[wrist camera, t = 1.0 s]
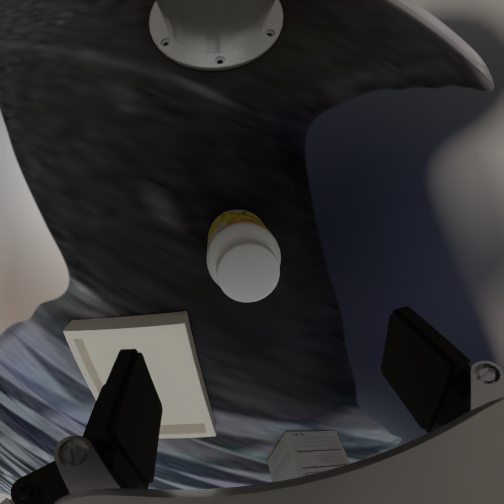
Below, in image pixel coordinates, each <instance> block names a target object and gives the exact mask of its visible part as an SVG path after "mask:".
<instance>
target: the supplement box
mask: <svg viewBox="0 0 504 504" xmlns="http://www.w3.org/2000/svg"><path fill="white" fill-rule="evenodd" d="M348 464H350V463H349V460H348V458H347V456H346V454H345V451H344V449H343V447H342V445H341V442H340V440H339V438H338V436H337V433H336V431H286V432H285V433H284V435H283V437H282V438H281V440H280V441H279V443H278V445H277V446H276V448H275V450H274V451H273V453H272V454H271V456H270V457H269V459H268V465H269V469H270V474H271V479H272V482H277V481H282V480H288V479H293V478H298V477H302V476H307V475H311V474H315V473H319V472H323V471H327V470H331V469H334V468H338V467H341V466H345V465H348Z"/></svg>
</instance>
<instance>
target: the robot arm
mask: <svg viewBox="0 0 504 504" xmlns="http://www.w3.org/2000/svg"><path fill="white" fill-rule="evenodd" d="M282 26H283V10H282V6H281V3H280V1H279V0H156V1H155V3H154V5H153V7H152V10H151V12H150V17H149V29H150V34H151V36H152V38H153V41H154V43H155V44H156V46H157V48H158V49H159V50H160V51H161V52H162V53H163V54H164V55H165V56H166V57H167V58H169V59H170V60H172V61H173V62H175V63H177V64H180V65H182V66H184V67H188V68H192V69H196V70H204V71H221V70H228V69H233V68H238V67H240V66H243V65H246V64H248V63H250V62H252V61H254V60H256V59H258V58H259V57H261V56H262V55H263V54H264V53H266V52H267V51H268V50H269V49H270V48H271V46H272V45H273V44H274V43H275V41H276V40H277V38H278V36H279V34H280V31H281V29H282ZM268 34H269V35H271V36H268ZM165 44H168V45H167V46H164V45H165ZM218 61H222V62H223V63H222V64H217V62H218ZM469 363H470V360H469V359H468V358H467V357H466V356H465V355H464V354H463V353H462V352H460V351H459V350H458V349H457V348H456V347H455V346H454V345H453V344H451V343H450V342H449V341H448V340H447V339H446V338H445V337H443V336H442V335H441V334H440V333H439V332H438V331H437V330H435V329H434V328H433V327H432V326H431V325H430V324H428V323H427V322H426V321H425V320H424V319H423V318H421V317H420V316H419V315H418V314H417V313H415V312H414V311H413V310H412V309H411V308H409V307H402V308H398V309H395V310H394V311H393V313H392V314H391V315H390V318H389V324H388V331H387V337H386V343H385V349H384V354H383V360H382V365H381V371H382V374H383V376H384V377H385V378H386V380H387V381H388V382H389V384H390V385H391V387H392V388H393V389H394V391H395V392H396V394H397V395H398V396H399V397H400V399H401V401H402V402H403V403H404V405H405V406H406V407H407V409H408V410H409V412H410V413H411V415H412V416H413V417H414V419H415V420H416V421H417V423H418V424H419V426H420V427H421V428H422V429H425V430H426V431H427V432H428V433H427V434H425V435H423V436H421V437H419V438H416V439H414V440H412V441H410V442H408V443H405V444H403V445H401V446H398V447H396V448H393V449H391V450H388V451H386V452H383V453H380V454H378V455H375V456H372V457H369V458H366V459H364V460H361V461H358V462H354V463H351V464H348V465H345V466H341V467H338V468H334V469H331V470H327V471H323V472H319V473H315V474H311V475H307V476H302V477H298V478H293V479H288V480H282V481H277V482H271V483H264V484H257V485H250V486H241V487H231V488H218V489H196V490H156V489H148V485H149V483H152V482H153V479H154V471H155V462H156V454H157V447H158V439H159V432H160V425H161V419H162V412H163V409H162V403H161V401H160V398H159V396H158V394H157V391H156V389H155V386H154V384H153V381H152V378H151V376H150V373H149V371H148V368H147V365H146V362H145V360H144V357H143V354H142V353H141V352H139V353H138V351H137V350H136V349H121V350H120V351H119V353H118V356H117V358H116V360H115V363H114V365H113V367H112V370H111V372H110V374H109V377H108V379H107V381H106V384H104V385H103V387H102V388H101V391H100V393H99V396H98V398H97V401H96V403H95V406H94V408H93V411H92V413H91V416H90V418H89V421H88V424H87V426H86V429H85V432H84V435H83V436H78V435H76V436H69V437H66V438H64V439H63V440H61V441H60V442H59V443H58V444H57V446H56V448H55V450H54V459H55V461H53V462H52V463H50V464H48V465H46V466H44V467H42V468H40V469H38V470H36V471H34V472H32V473H30V474H28V475H26V476H24V477H21V478H20V479H18V480H17V481H16V482H15V483H14V484H13V486H12V489H11V497H12V499H10V500H9V499H7V498H6V499H5V500H4V501H3V502H1V503H0V504H504V374H503V371H502V369H501V368H500V367H499V366H498V365H497V364H495V363H493V362H489V361H480V362H477V363H475V364H474V365H473V367H472V368H471V367H470V366H469Z"/></svg>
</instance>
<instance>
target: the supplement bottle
mask: <svg viewBox="0 0 504 504" xmlns="http://www.w3.org/2000/svg"><path fill="white" fill-rule="evenodd" d="M280 262H281V254H280V248H279V246H278V243H277V241H276V239H275V238H274V237H273V235H272V234H271V233H270V231H269V230H268V229H267V228H266V227H265V225H264V224H263V223H262V221H261V220H260V219H259V218H258V217H257V216H256V215H254V214H253V213H251V212H249V211H245V210H230V211H227V212H224V213H223V214H221V215H220V216H218V217H217V218H216V219H215V221H214V222H213V223H212V225H211V227H210V230H209V234H208V246H207V266H208V270H209V273H210V275H211V277H212V278H213V280H214V281H215V282H216V283H217V284H218V285H219V286H220V288H221V289H222V291H223V292H224V293H225V294H226V295H227V296H229V297H230V298H232V299H234V300H236V301H239V302H255V301H258V300H261V299H263V298H264V297H266V296H268V295H269V294H270V293H271V292H272V291H273V290H274V288H275V287H276V285H277V283H278V280H279V275H280V268H279V267H280Z"/></svg>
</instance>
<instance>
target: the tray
mask: <svg viewBox="0 0 504 504" xmlns="http://www.w3.org/2000/svg"><path fill="white" fill-rule="evenodd" d="M63 332H64V335H65V337H66V340H67V342H68V344H69V347H70V349H71V351H72V353H73V356H74V358H75V360H76V362H77V364H78V366H79V368H80V370H81V372H82V375H83V377H84V379H85V380H86V382H87V384H88V386H89V388H90V390H91V392H92V394H93V396H94V397H95V399H96V401H97V398H98V396H99V393H100V391H101V388H102V387H103V385H104V384H106V381H107V379H108V377H109V374H110V372H111V370H112V367H113V365H114V363H115V360H116V358H117V356H118V353H119V351H120V350H121V349H136V350H137V351H138V353H139V352H141V353H142V354H143V357H144V360H145V362H146V365H147V368H148V371H149V373H150V376H151V378H152V381H153V384H154V386H155V389H156V391H157V394H158V396H159V398H160V401H161V403H162V409H163V412H162V419H161V425H160V432H159V438H195V437H211V436H216V422H215V419H214V415H213V412H212V409H211V405H210V402H209V398H208V395H207V391H206V387H205V384H204V380H203V376H202V372H201V368H200V365H199V361H198V357H197V353H196V348H195V344H194V340H193V336H192V332H191V327H190V323H189V318H188V314H187V311H181V312H172V313H162V314H151V315H140V316H127V317H114V318H100V319H84V320H71V322H70V323H69V324H68V326H67V327H66V328H65V329H64V331H63Z"/></svg>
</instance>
